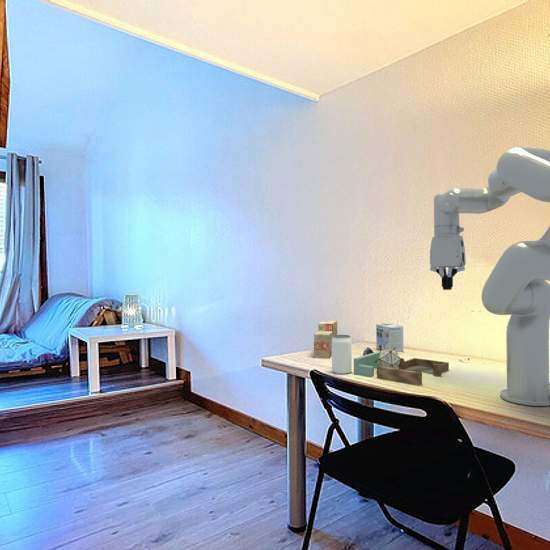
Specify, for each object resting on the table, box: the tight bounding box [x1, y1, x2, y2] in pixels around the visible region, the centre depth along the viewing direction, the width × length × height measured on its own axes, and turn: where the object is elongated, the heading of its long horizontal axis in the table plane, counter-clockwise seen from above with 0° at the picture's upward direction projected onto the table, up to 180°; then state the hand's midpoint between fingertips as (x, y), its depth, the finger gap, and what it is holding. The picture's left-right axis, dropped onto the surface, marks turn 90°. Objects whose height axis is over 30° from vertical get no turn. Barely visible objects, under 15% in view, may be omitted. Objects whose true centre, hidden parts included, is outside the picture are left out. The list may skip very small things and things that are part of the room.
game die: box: [375, 348, 404, 369], centre depth 146 cm, size 9×8×10 cm
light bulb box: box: [375, 322, 404, 354], centre depth 183 cm, size 11×7×11 cm, turn 17°
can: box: [331, 334, 353, 375], centre depth 148 cm, size 6×6×12 cm
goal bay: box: [353, 351, 380, 378], centre depth 148 cm, size 6×15×5 cm, turn 137°
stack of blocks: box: [313, 320, 338, 359], centre depth 181 cm, size 21×6×12 cm, turn 164°
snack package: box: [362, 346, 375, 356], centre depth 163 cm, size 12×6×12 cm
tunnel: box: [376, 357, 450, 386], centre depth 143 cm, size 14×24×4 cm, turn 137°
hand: (447, 289), depth 142 cm, fingers closed
